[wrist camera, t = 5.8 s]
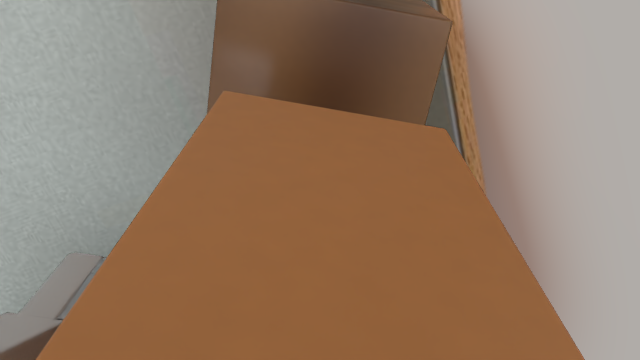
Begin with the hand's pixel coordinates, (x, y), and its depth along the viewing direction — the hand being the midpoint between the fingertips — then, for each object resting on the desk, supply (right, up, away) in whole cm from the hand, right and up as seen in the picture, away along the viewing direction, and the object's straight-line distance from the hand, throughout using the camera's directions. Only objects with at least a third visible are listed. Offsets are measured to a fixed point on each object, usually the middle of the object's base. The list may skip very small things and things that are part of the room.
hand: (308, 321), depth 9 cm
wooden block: (0, +12, +26) cm, 29 cm away
